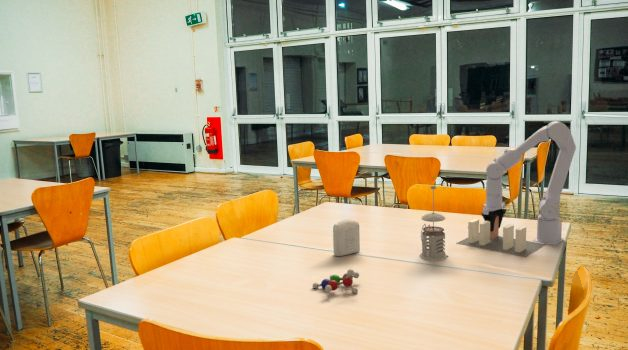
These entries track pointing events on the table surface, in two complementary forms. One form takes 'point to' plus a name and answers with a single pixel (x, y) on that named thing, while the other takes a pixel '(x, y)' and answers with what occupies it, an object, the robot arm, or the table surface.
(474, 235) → the domino
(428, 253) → the french press
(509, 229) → the domino
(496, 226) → the terracotta domino
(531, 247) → the mat
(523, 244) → the domino
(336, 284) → the molecule model
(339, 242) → the photo printer
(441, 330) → the table surface
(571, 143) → the robot arm
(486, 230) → the domino
